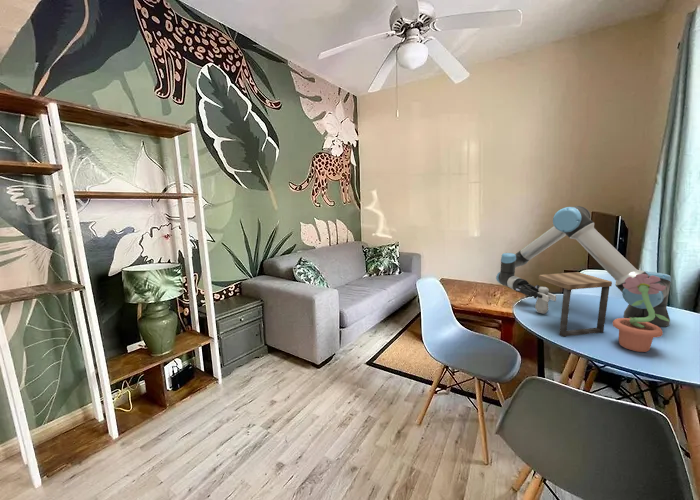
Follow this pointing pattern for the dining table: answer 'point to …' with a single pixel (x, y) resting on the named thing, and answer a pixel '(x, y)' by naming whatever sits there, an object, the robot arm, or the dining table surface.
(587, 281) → the wooden side table
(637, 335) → the decorative flower
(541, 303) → the salt shaker
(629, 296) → the robot arm
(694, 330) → the dining table surface
